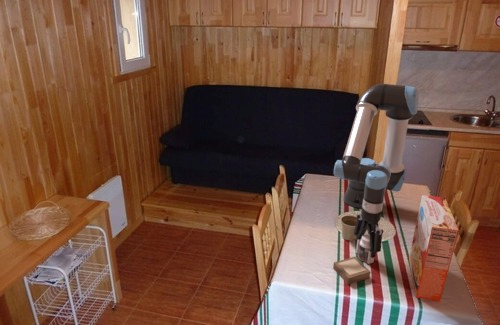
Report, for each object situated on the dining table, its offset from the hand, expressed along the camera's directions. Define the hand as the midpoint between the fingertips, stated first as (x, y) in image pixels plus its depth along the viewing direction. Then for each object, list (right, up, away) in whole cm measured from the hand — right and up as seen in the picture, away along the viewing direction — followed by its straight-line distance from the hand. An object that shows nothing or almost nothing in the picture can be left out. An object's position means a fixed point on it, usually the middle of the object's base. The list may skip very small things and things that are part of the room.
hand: (364, 257), depth 161 cm
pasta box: (+19, -6, -11) cm, 23 cm away
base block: (-8, -4, -9) cm, 12 cm away
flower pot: (-3, +6, +14) cm, 15 cm away
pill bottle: (0, 0, 0) cm, 1 cm away
